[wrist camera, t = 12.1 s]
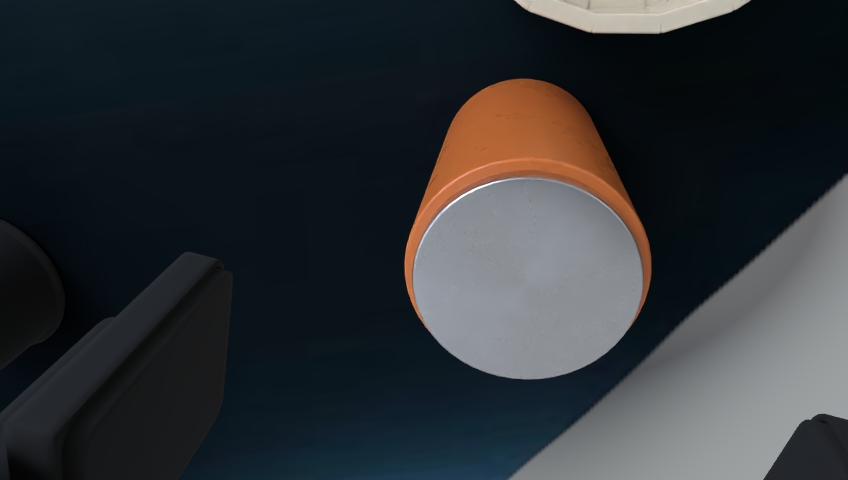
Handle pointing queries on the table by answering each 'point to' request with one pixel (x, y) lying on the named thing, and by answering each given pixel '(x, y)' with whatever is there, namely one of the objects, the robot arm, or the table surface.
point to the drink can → (526, 237)
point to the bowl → (630, 13)
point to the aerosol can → (26, 294)
